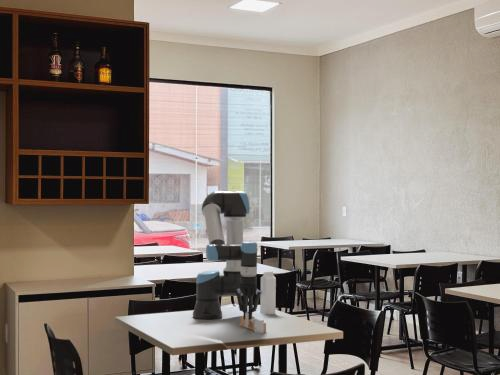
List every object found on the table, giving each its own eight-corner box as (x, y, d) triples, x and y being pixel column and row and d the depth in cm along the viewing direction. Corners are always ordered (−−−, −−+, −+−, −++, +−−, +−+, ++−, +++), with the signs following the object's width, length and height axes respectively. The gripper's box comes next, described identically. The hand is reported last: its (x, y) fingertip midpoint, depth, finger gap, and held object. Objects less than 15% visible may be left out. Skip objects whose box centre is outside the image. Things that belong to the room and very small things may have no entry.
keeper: (250, 331, 316) (250, 318, 316) (261, 331, 318) (261, 318, 318) (254, 333, 311) (254, 320, 311) (264, 333, 313) (264, 320, 313)
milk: (275, 314, 369) (276, 272, 369) (265, 314, 366) (266, 272, 366) (269, 312, 374) (270, 271, 374) (259, 312, 371) (260, 271, 371)
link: (240, 325, 330) (240, 315, 330) (250, 324, 332) (250, 315, 332) (256, 332, 314) (257, 322, 314) (266, 331, 316) (267, 321, 316)
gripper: (232, 275, 319) (231, 327, 319) (259, 277, 315) (258, 329, 315) (238, 273, 326) (237, 324, 326) (264, 275, 322) (263, 326, 322)
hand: (247, 326), depth 320 cm, fingers closed
